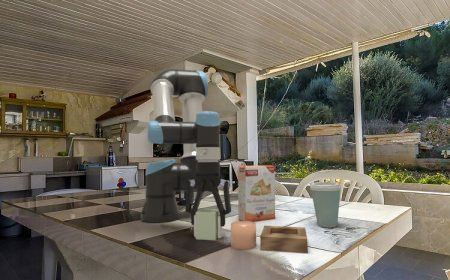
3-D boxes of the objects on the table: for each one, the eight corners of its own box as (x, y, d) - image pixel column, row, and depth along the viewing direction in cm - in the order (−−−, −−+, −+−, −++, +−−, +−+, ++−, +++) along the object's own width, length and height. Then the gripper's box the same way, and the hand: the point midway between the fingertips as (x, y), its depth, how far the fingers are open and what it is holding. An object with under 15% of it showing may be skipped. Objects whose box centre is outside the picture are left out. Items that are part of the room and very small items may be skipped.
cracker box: (246, 223, 106) (245, 166, 107) (237, 219, 111) (237, 165, 112) (276, 218, 112) (275, 165, 114) (267, 216, 118) (266, 165, 119)
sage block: (195, 239, 86) (195, 212, 86) (201, 233, 92) (201, 208, 92) (215, 240, 85) (214, 213, 85) (220, 234, 90) (219, 209, 91)
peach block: (228, 248, 77) (228, 226, 77) (233, 241, 84) (233, 220, 84) (254, 250, 76) (254, 227, 76) (257, 242, 82) (257, 221, 83)
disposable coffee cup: (339, 230, 94) (337, 184, 95) (306, 226, 100) (305, 183, 101) (345, 224, 103) (344, 182, 104) (315, 220, 109) (314, 180, 110)
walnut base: (260, 249, 76) (260, 236, 76) (264, 237, 87) (264, 225, 88) (307, 253, 73) (307, 239, 73) (305, 239, 85) (305, 227, 85)
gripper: (173, 161, 88) (173, 237, 87) (236, 161, 84) (237, 241, 82) (182, 161, 95) (182, 231, 94) (241, 160, 91) (241, 234, 90)
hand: (208, 236), depth 88 cm, fingers open, 7 cm apart
